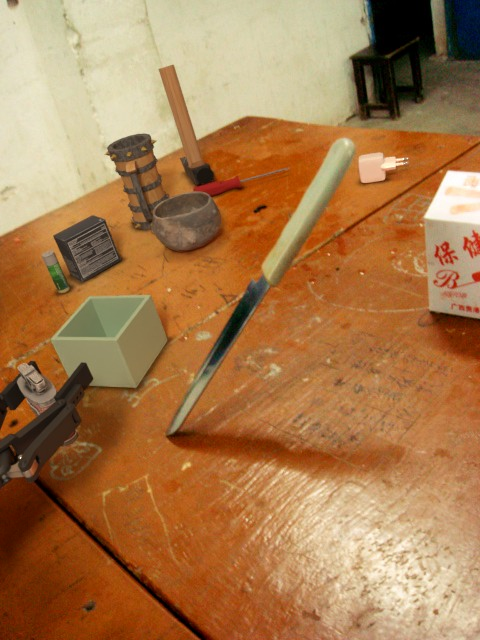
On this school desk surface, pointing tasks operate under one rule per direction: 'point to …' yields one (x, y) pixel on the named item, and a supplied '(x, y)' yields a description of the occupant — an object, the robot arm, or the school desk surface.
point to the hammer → (185, 129)
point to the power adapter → (377, 166)
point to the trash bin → (112, 339)
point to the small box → (87, 248)
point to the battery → (55, 271)
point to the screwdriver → (227, 184)
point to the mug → (138, 176)
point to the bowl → (186, 221)
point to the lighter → (39, 394)
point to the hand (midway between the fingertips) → (61, 369)
